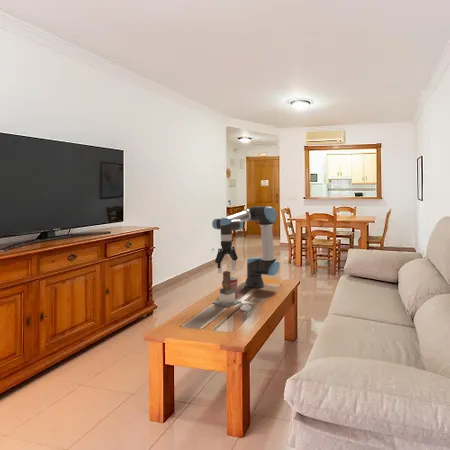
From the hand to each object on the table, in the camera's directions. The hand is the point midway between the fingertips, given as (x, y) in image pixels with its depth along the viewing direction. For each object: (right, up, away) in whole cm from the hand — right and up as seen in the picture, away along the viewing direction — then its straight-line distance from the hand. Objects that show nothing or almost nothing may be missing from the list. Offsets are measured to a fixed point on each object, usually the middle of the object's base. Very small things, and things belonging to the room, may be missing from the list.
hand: (226, 271), depth 288 cm
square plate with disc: (0, -22, +2) cm, 22 cm away
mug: (+2, -21, +20) cm, 29 cm away
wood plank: (0, -15, +1) cm, 15 cm away
